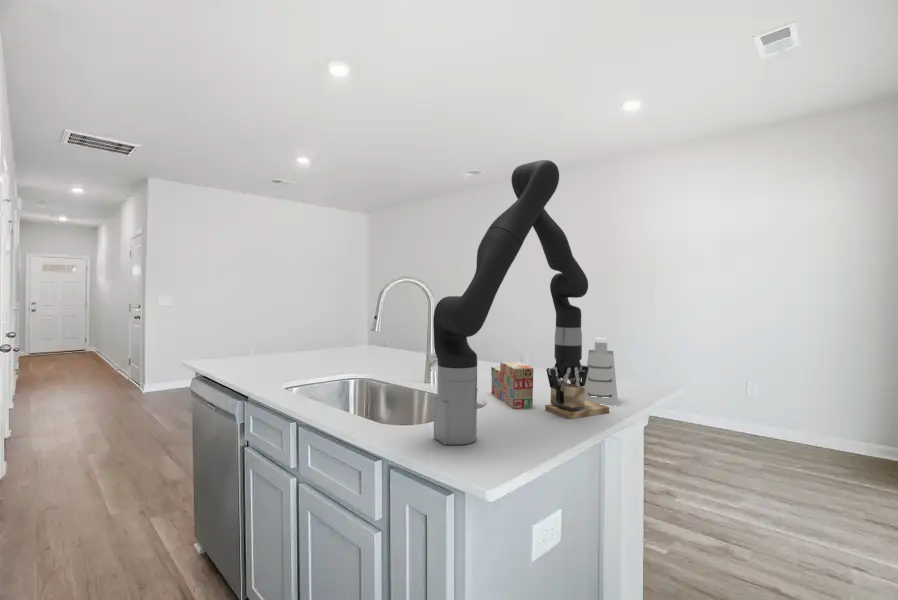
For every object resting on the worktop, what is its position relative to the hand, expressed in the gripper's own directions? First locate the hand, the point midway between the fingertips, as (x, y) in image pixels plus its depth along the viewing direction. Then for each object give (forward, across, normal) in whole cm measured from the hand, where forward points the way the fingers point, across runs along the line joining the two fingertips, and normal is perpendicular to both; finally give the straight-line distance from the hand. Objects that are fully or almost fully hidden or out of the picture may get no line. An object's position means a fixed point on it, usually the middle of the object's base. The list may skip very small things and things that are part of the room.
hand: (567, 402), depth 132 cm
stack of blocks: (+3, -6, +20) cm, 21 cm away
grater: (+3, +20, +7) cm, 21 cm away
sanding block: (+1, 0, 0) cm, 1 cm away
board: (+3, +4, 0) cm, 5 cm away
